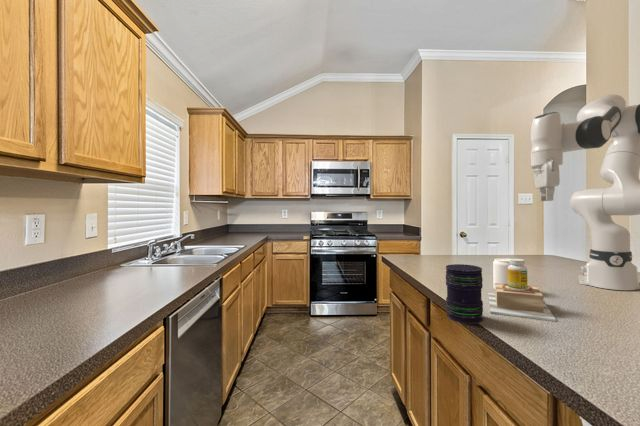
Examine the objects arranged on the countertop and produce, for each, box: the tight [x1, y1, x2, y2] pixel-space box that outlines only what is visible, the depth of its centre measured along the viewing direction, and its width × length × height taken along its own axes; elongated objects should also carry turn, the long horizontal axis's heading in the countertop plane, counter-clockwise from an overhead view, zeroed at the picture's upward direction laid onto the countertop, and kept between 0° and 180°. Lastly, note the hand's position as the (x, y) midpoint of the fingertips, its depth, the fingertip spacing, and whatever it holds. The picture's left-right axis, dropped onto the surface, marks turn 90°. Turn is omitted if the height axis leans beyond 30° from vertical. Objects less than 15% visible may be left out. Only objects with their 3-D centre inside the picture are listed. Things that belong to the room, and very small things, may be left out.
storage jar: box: [445, 263, 484, 325], centre depth 89 cm, size 10×10×15 cm
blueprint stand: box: [487, 283, 556, 322], centre depth 98 cm, size 22×16×6 cm
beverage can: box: [492, 257, 511, 290], centre depth 116 cm, size 8×8×12 cm
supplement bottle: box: [508, 258, 529, 291], centre depth 98 cm, size 5×5×10 cm
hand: (546, 201), depth 104 cm, fingers open, 8 cm apart
